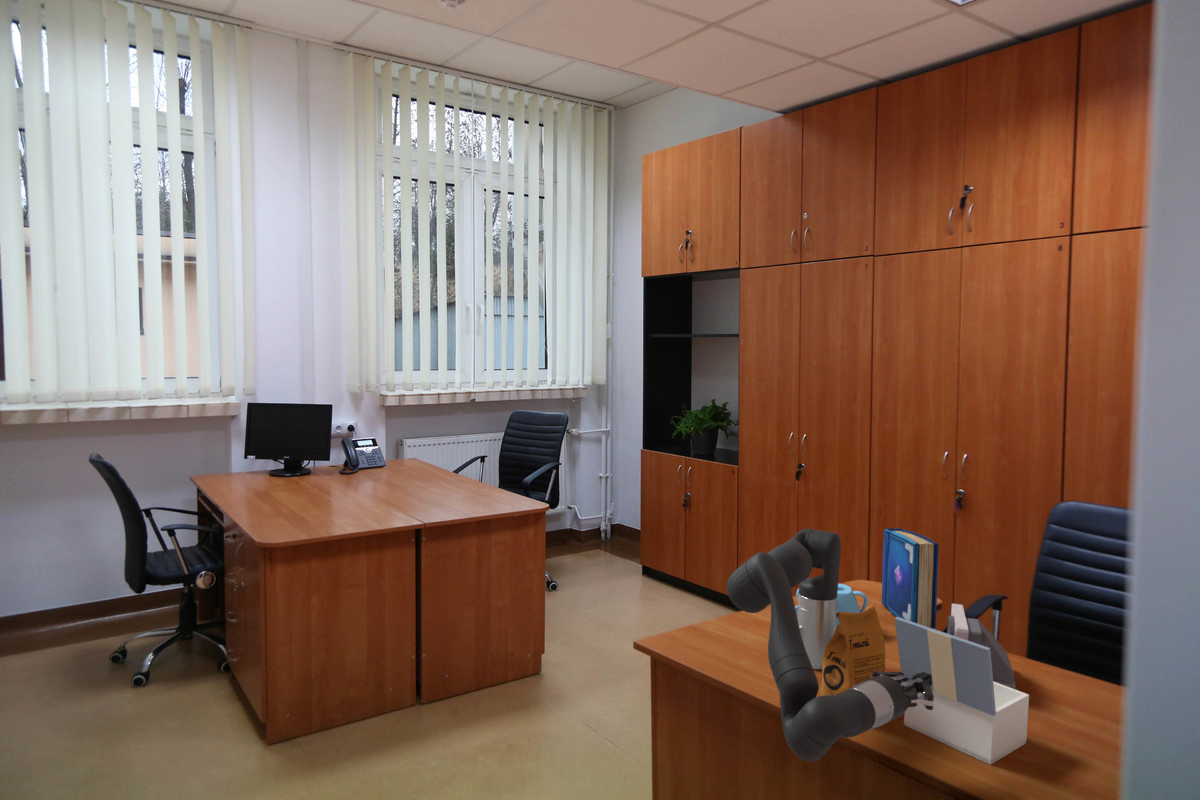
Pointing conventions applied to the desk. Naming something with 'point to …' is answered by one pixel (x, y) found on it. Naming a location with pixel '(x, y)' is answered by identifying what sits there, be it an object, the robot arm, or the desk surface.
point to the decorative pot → (846, 600)
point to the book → (910, 576)
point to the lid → (948, 664)
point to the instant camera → (981, 635)
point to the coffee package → (853, 652)
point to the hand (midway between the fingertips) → (927, 678)
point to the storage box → (975, 724)
